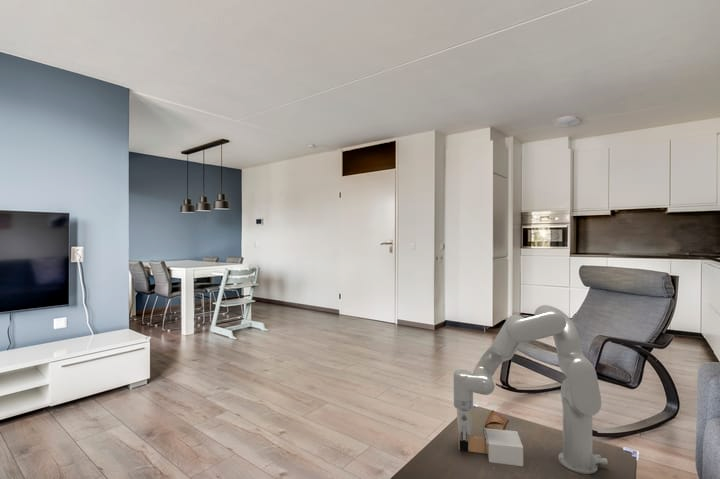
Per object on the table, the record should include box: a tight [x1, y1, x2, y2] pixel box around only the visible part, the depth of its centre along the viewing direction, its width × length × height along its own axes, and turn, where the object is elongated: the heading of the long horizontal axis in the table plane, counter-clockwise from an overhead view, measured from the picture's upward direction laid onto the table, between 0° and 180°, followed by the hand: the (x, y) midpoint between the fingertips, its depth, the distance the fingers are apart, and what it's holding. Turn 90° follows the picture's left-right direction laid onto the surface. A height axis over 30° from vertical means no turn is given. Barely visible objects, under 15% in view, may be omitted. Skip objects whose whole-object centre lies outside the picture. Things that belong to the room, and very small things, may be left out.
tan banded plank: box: [457, 433, 488, 455], centre depth 147 cm, size 13×2×6 cm, turn 77°
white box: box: [483, 427, 524, 467], centre depth 145 cm, size 13×12×7 cm
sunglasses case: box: [482, 409, 509, 432], centre depth 168 cm, size 18×7×7 cm
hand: (463, 448), depth 148 cm, fingers closed on tan banded plank
